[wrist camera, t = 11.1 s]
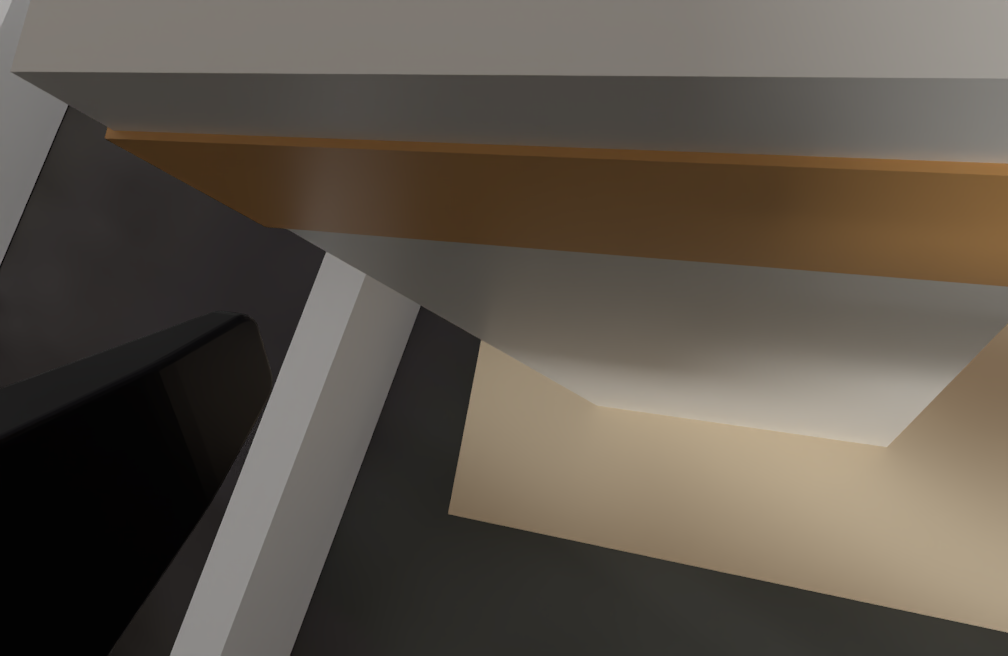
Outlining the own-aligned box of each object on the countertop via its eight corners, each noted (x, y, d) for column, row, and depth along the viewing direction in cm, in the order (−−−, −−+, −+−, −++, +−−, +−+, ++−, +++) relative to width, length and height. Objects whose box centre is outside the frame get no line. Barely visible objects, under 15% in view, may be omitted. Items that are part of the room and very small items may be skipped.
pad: (1033, 635, 14) (1043, 639, 13) (459, 514, 17) (448, 513, 17) (1082, 54, 15) (1091, 37, 15) (546, 51, 19) (538, 37, 18)
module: (889, 451, 15) (1266, 93, 3) (593, 408, 16) (0, 79, 4) (919, 162, 15) (1309, -1128, 3) (634, 151, 17) (228, -716, 5)
